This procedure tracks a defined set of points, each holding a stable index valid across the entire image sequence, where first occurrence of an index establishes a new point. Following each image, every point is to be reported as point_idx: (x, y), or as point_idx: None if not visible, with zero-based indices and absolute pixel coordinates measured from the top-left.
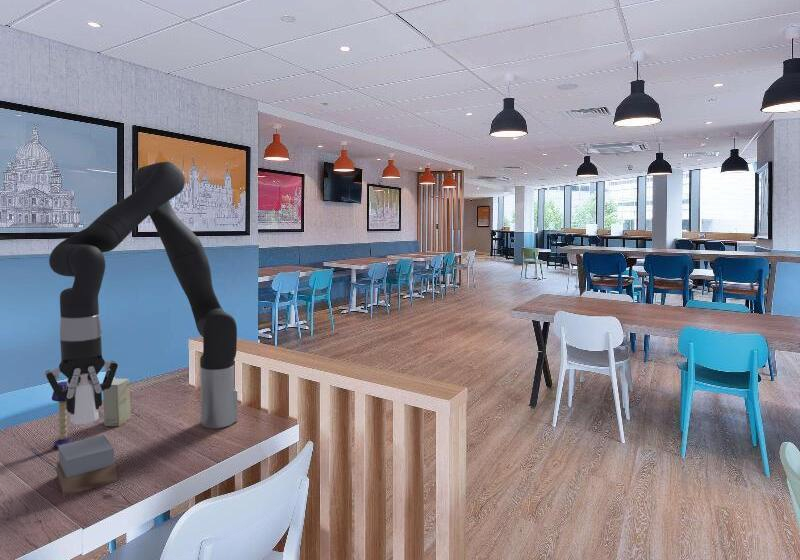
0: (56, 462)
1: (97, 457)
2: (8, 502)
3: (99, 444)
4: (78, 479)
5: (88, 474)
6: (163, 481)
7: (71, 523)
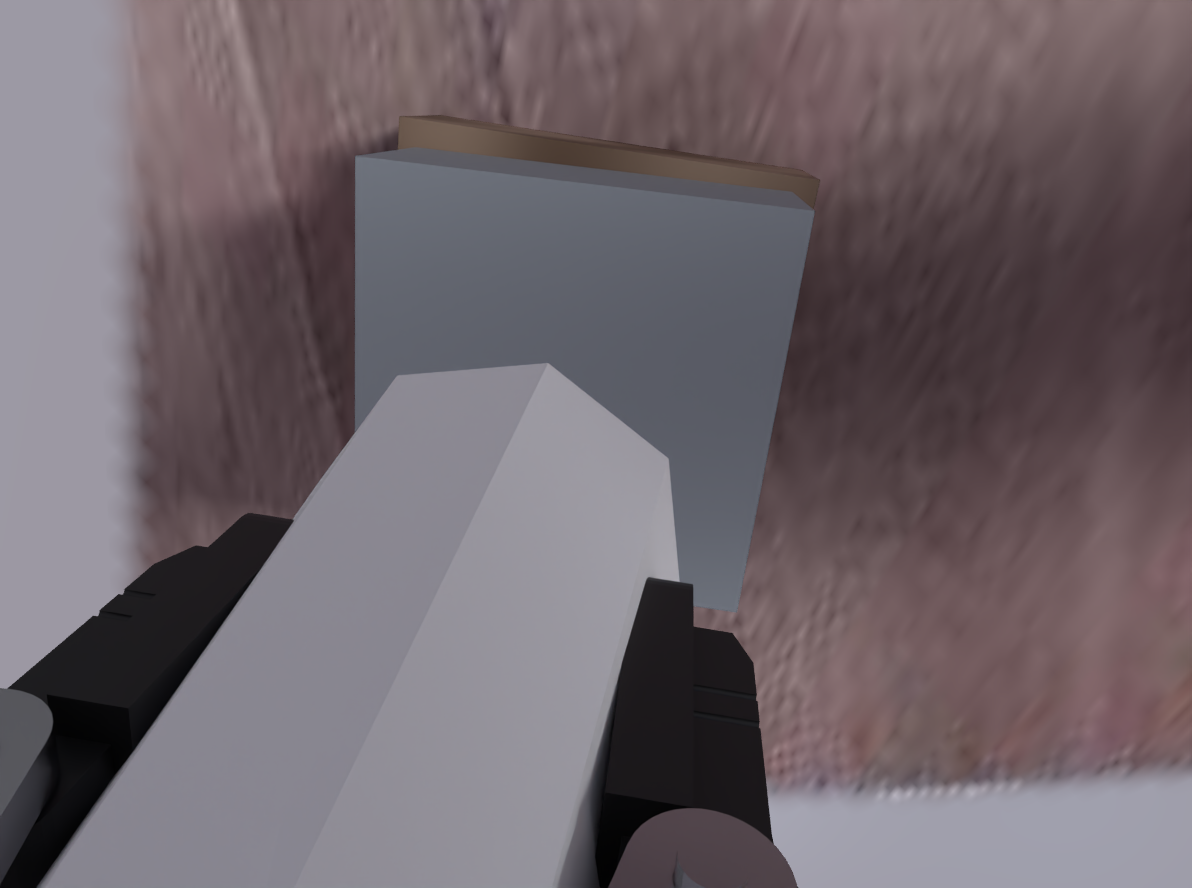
0: (400, 122)
1: None
2: (139, 274)
3: (675, 441)
4: None
5: None
6: (924, 717)
7: None
